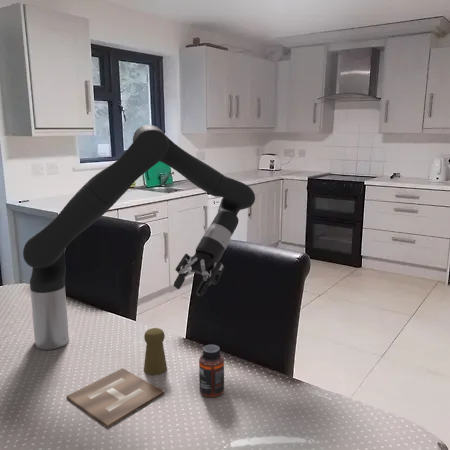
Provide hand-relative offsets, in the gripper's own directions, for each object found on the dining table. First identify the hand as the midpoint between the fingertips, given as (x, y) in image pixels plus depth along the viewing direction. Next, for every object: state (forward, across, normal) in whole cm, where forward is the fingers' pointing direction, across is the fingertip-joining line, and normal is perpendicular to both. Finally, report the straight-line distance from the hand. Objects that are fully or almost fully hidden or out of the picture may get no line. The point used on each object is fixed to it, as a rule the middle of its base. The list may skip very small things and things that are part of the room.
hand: (187, 291), depth 119 cm
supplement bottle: (+20, +18, +6) cm, 28 cm away
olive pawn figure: (+22, 0, +4) cm, 22 cm away
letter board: (+31, +2, -6) cm, 32 cm away
